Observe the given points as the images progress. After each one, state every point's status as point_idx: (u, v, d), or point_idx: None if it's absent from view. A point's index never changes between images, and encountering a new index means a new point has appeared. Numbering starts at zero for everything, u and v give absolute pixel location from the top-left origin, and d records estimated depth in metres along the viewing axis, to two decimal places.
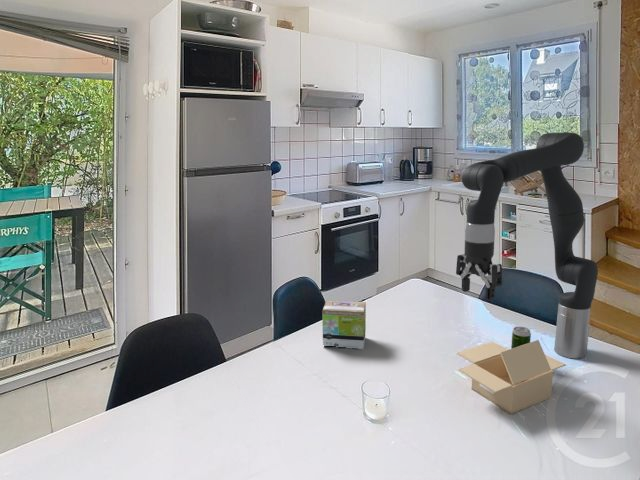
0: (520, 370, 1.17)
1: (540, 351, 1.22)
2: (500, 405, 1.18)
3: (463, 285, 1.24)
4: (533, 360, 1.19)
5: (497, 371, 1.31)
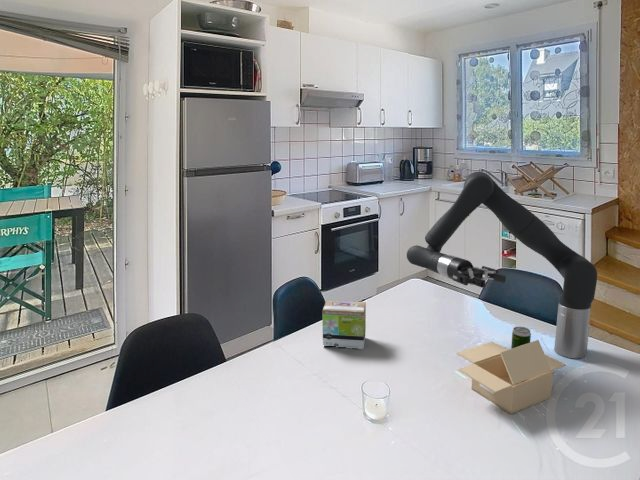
0: (520, 370, 1.17)
1: (540, 351, 1.22)
2: (500, 405, 1.18)
3: None
4: (533, 360, 1.19)
5: (497, 371, 1.31)
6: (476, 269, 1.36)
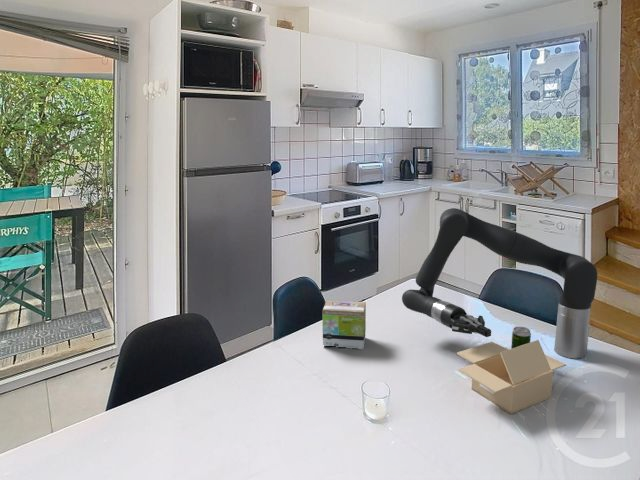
0: (520, 370, 1.17)
1: (540, 351, 1.22)
2: (500, 405, 1.18)
3: None
4: (533, 360, 1.19)
5: (497, 371, 1.31)
6: (467, 317, 1.37)
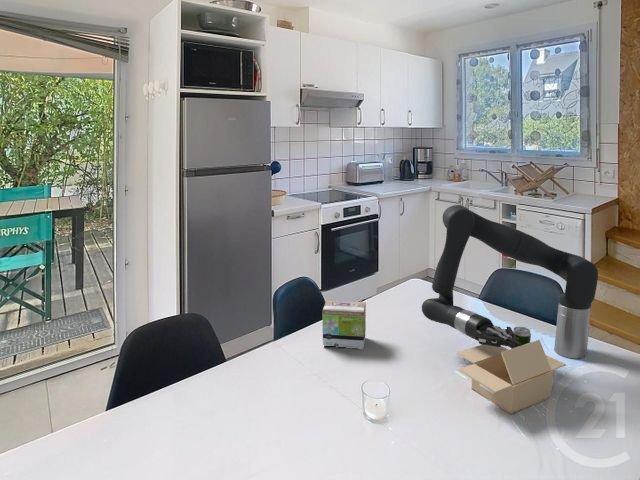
0: (520, 370, 1.16)
1: (541, 351, 1.21)
2: (500, 405, 1.18)
3: None
4: (533, 360, 1.19)
5: (497, 371, 1.31)
6: (494, 329, 1.28)
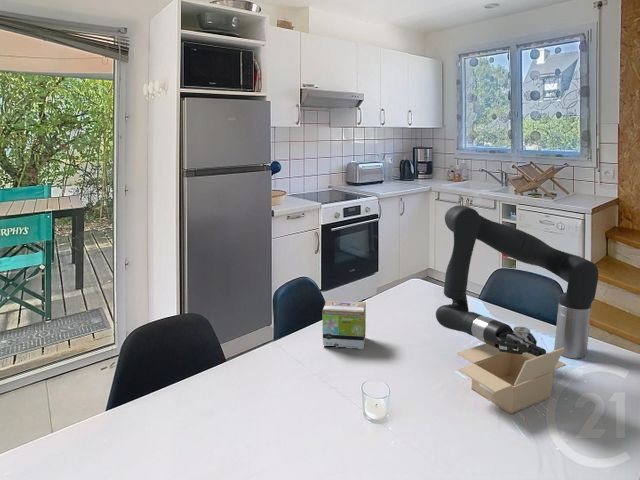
0: (529, 374, 1.14)
1: (557, 357, 1.17)
2: (500, 405, 1.18)
3: None
4: (546, 365, 1.16)
5: (497, 371, 1.31)
6: (515, 335, 1.22)
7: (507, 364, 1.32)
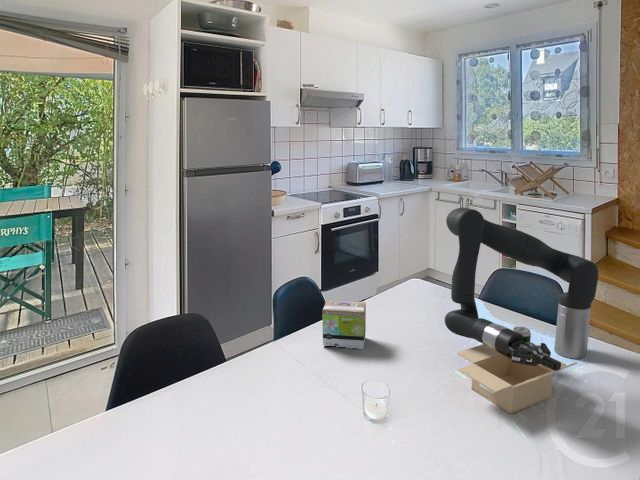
0: None
1: (565, 367, 1.15)
2: (500, 405, 1.18)
3: None
4: None
5: (497, 371, 1.31)
6: (528, 345, 1.18)
7: (507, 364, 1.32)
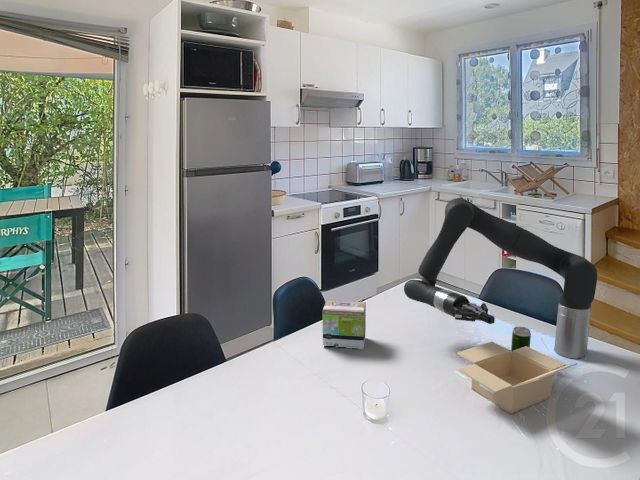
0: None
1: None
2: (500, 405, 1.18)
3: None
4: None
5: (497, 371, 1.31)
6: (470, 305, 1.36)
7: (507, 364, 1.32)
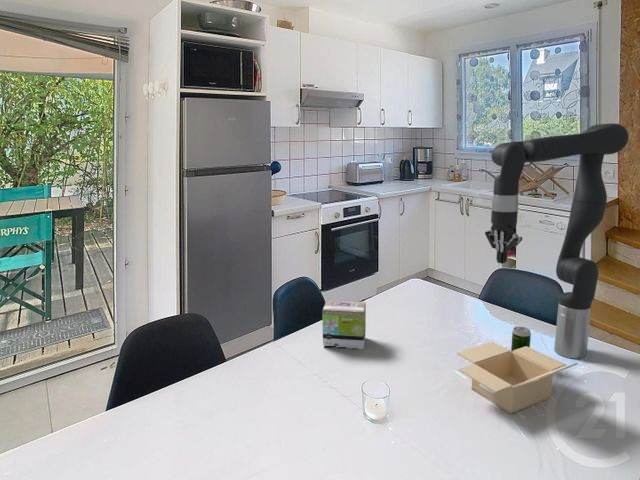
0: None
1: None
2: (500, 405, 1.18)
3: (498, 257, 1.37)
4: None
5: (497, 371, 1.31)
6: None
7: (507, 364, 1.32)
